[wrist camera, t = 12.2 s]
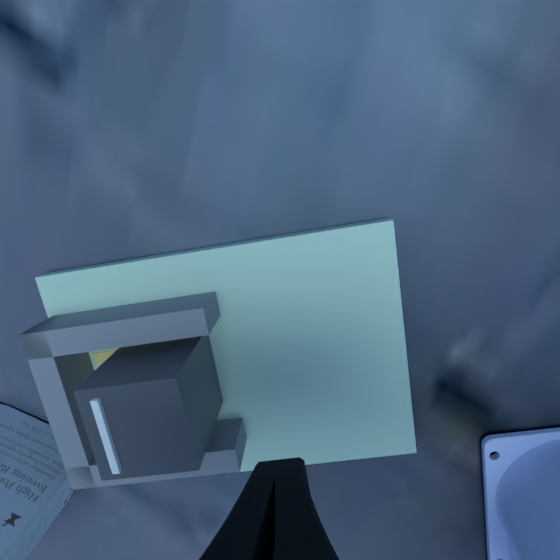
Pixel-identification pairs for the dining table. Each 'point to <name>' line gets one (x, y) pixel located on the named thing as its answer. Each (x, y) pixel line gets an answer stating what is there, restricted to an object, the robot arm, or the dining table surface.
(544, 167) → the dining table surface
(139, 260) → the board
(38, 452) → the skincare box
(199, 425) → the plug
